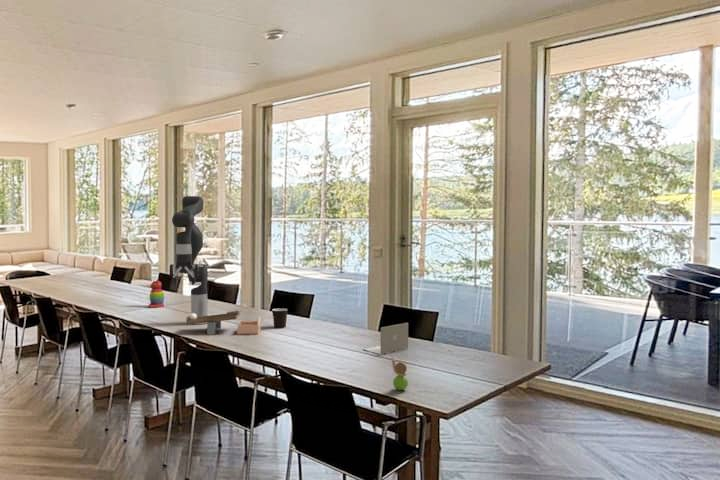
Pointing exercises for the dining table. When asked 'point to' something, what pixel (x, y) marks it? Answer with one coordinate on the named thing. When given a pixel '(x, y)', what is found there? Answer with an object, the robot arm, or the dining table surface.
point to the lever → (214, 318)
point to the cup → (249, 327)
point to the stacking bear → (156, 295)
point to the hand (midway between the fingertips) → (184, 284)
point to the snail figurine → (399, 375)
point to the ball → (192, 316)
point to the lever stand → (213, 327)
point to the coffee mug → (279, 317)
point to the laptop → (392, 339)
